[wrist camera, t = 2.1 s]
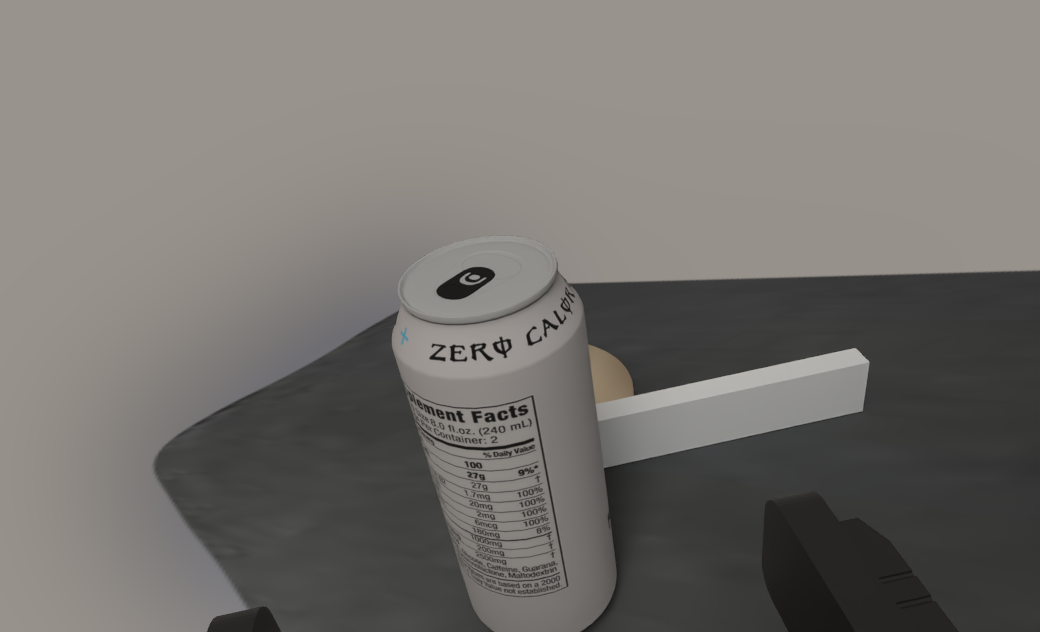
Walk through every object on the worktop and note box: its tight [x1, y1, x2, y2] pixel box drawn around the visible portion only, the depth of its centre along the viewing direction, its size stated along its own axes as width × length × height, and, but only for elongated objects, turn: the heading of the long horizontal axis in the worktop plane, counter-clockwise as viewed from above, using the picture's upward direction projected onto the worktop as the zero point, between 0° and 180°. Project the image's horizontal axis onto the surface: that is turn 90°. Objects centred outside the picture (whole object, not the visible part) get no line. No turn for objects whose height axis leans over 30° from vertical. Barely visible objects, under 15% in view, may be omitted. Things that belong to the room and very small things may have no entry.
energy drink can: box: [392, 235, 617, 632], centre depth 25 cm, size 6×6×15 cm
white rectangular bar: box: [596, 348, 869, 468], centre depth 34 cm, size 21×1×3 cm, turn 98°
